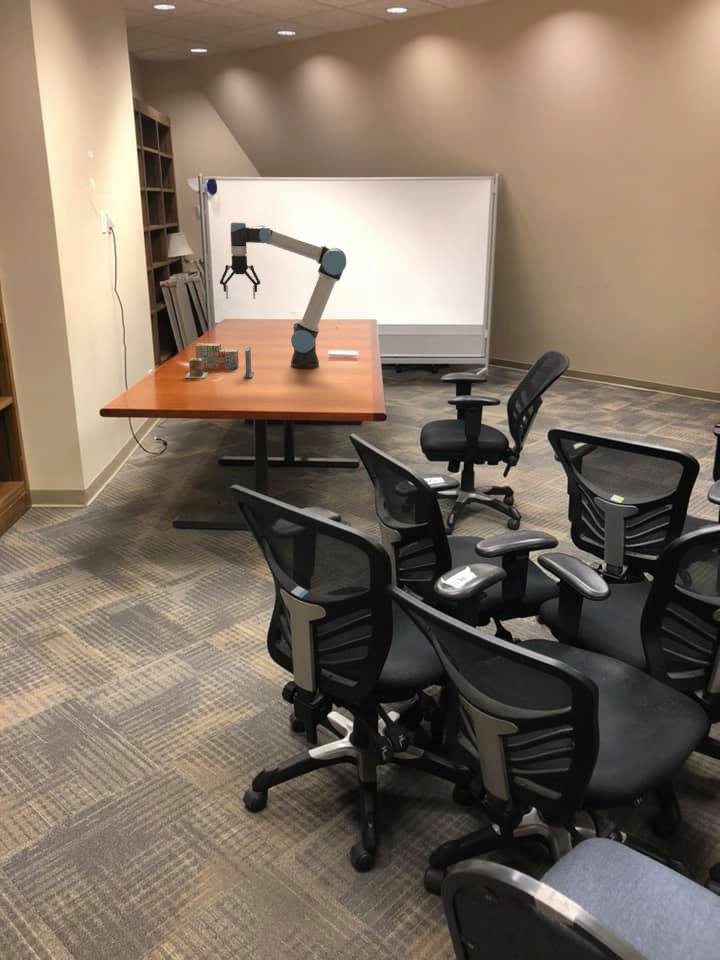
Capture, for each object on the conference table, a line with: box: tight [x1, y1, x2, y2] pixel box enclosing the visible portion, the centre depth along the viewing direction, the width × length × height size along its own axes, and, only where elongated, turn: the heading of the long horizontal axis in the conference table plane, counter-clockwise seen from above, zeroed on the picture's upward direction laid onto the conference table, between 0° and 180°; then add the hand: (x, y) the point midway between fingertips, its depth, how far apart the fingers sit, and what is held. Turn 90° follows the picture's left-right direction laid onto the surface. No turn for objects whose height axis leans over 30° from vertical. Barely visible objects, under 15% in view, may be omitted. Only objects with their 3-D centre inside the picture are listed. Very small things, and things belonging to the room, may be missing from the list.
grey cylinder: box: [188, 357, 205, 376], centre depth 383 cm, size 6×6×8 cm
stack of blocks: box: [195, 342, 240, 370], centre depth 402 cm, size 21×6×12 cm, turn 89°
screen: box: [243, 345, 255, 380], centre depth 383 cm, size 4×12×14 cm, turn 3°
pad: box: [184, 371, 209, 380], centre depth 384 cm, size 10×12×1 cm
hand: (240, 298), depth 386 cm, fingers open, 13 cm apart
